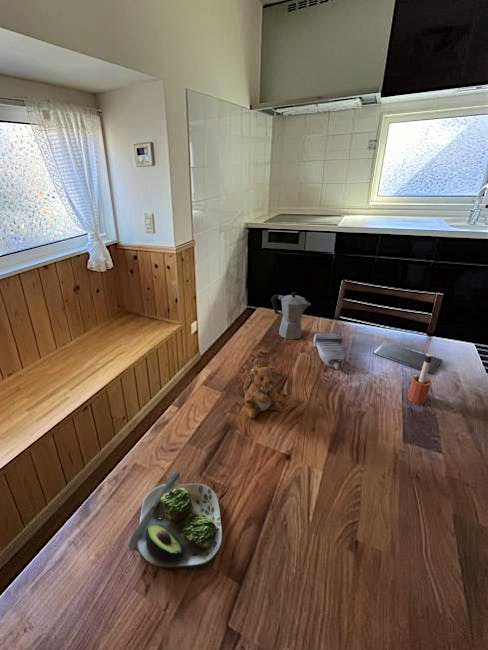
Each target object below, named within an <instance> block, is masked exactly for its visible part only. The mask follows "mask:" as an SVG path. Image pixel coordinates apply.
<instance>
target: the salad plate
mask: <svg viewBox="0 0 488 650" xmlns="http://www.w3.org/2000/svg"><path fill="white" fill-rule="evenodd" d="M180 476H181V475H180V472H179V471H177V470H175V471H173V472H172V473H171V475H170V476H169V478H168V479H167V481H166V483H165V484H162V485H158V486H156V487H154V488H152V490H151V491H149V492H148V493H147V494H146V495H145V496H144V498H143V500H142V504H141V508H140V516H139V524H138V527H137V528H136V529H135V530H134V532H133V534H132V536H131V538H130V540H129V542H128V544H127V545H128V546H127V547H128V551H129V552H132V551H136V552H137V553H139V555H140V556H141V558H142V559H143V560H144V561H145V562H146V563H148V565H151V566H154V567H157V568H159V569H167V570H182V569H185V570H193V569H194V570H195V569H198V568H203V567H207V566H208V565H210V564H211V562H212V561H213V560H214V559H215V558H216V557H217V555H218V553H219V552H220V550H221V546H222V544H223V543H222V542H223V527H222V517H221V509H220V503H219V497H218V496H217V494H216V492H214V490H213V489H211V487H209V486H208V485H206V484H203V483H180V482H179V478H180ZM159 518H161V519H159Z"/></svg>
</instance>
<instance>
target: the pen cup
mask: <svg viewBox="0 0 488 650" xmlns="http://www.w3.org/2000/svg"><path fill="white" fill-rule="evenodd" d="M419 378H420V375H414V376H412V378H411V381H410V384H409V389H408V393H407V399H408V400H409V401H410V402H412V403H413V404H417V405H423V404H426V402H427V399H428V397H429V393H430V391H431V387H432V385H433V384H432V381H431V379H429V378H428V377H426V379H425V383H424V384H421V383H419V382H418V381H419Z"/></svg>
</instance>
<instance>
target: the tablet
mask: <svg viewBox="0 0 488 650" xmlns="http://www.w3.org/2000/svg"><path fill="white" fill-rule="evenodd" d="M426 354H427V353H424V352H420V351H418V350H414V349H411V348H408V347H406V346H402V345H399V344H396V343H393V342H390V341H387V340H384V341H383V342H382V343H381V344H380V345H379V346H377V348H376V349H375V350H374V351H373V352H372V355H375V356H378V357H380V358H384V359H386V360H389V361H392V362H395V363H397V364H399V365H400V364H401V365H403V366H406V367H409V368H412V369H415V370H417V371H420V372H421V371H422V367H423V364H424V360H425V357H426ZM442 362H443V359H442V358H439V357H436V356H434V355H433V356H432V360H431V363H430V366H429V369H428V373H427V375H428V374H429V375H431V376H433V375H434V374H435V373H436V371H437V370H438V368H439V367H440V365H441V364H442Z"/></svg>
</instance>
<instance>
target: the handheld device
mask: <svg viewBox="0 0 488 650" xmlns="http://www.w3.org/2000/svg"><path fill="white" fill-rule="evenodd" d="M312 341H313V348H314V349H317V353H318V355H319V357H320V359H321V360H322V362H323V364H325V365H326V366H327V367H328V368H334V369H335V370H337V371H340V370H341V369H342V368H344V367H345V365H346V363H347V352H346V351H345V349H344V346H343V345H342V344H343V338H342V337H341V335H339V334H336V333H325V332H324V333H319V332H318V333H315V334H314V336H313V340H312Z"/></svg>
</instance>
